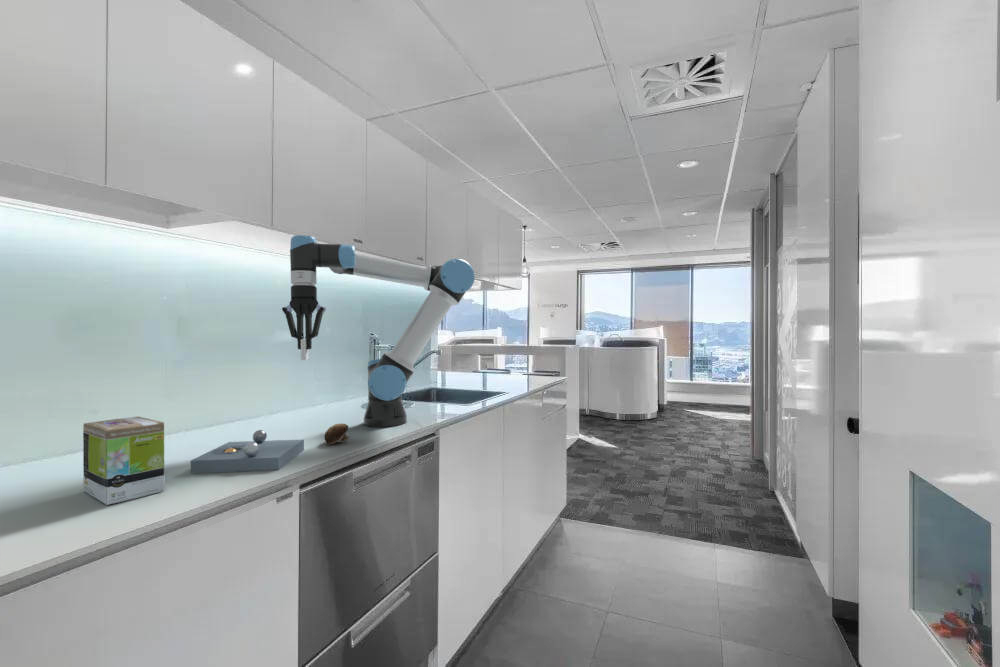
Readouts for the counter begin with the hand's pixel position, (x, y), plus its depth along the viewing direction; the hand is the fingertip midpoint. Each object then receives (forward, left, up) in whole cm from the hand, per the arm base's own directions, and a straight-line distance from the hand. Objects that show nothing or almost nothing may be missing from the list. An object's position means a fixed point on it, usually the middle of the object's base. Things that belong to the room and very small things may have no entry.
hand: (304, 359), depth 142 cm
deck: (+5, +26, -24) cm, 36 cm away
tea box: (+22, +46, -25) cm, 57 cm away
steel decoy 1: (+2, +33, -20) cm, 38 cm away
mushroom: (-12, +10, -25) cm, 29 cm away
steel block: (+6, +19, -20) cm, 28 cm away
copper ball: (+10, +26, -23) cm, 36 cm away
